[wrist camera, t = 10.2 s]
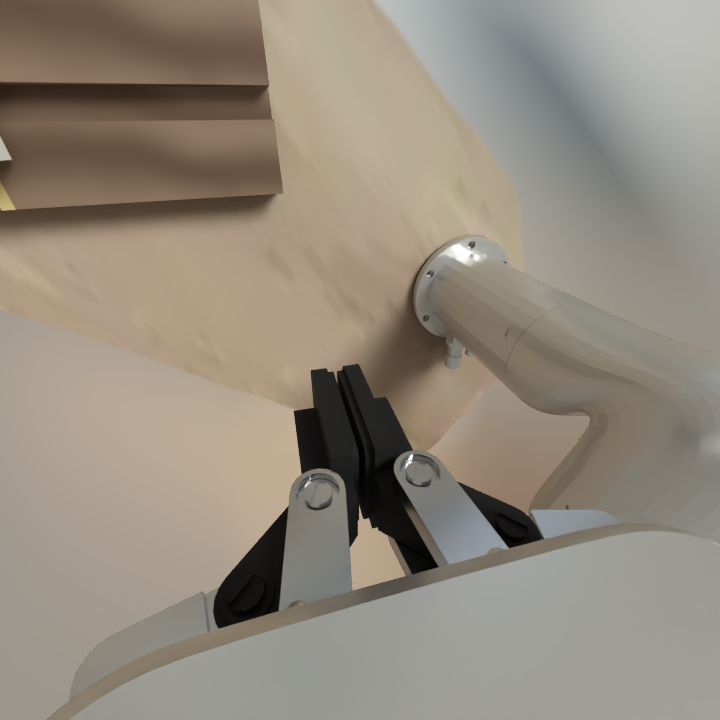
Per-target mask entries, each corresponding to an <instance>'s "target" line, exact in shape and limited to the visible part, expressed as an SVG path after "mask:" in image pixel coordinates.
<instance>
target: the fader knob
mask: <svg viewBox="0 0 720 720" xmlns="http://www.w3.org/2000/svg"><path fill="white" fill-rule="evenodd" d="M4 160H12V159H11V157H10V155H9V153H8V151H7V149H6V147H5V145H4V143H3V141H2V139H1V137H0V161H4Z"/></svg>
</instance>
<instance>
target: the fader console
mask: <svg viewBox="0 0 720 720" xmlns="http://www.w3.org/2000/svg"><path fill="white" fill-rule="evenodd" d="M268 86H269V80H268V73H267V65H266V57H265V50H264V42H263V35H262V27H261V19H260V12H259V4H258V0H0V137H1V139H2V141H3V143H4V145H5V147H6V149H7V151H8V153H9V155H10V157H11V159H12V160H4V161H0V211H1V210H2V211H4V210H18V209H34V208H51V207H68V206H84V205H101V204H117V203H134V202H151V201H167V200H184V199H201V198H217V197H234V196H250V195H267V194H283V188H282V180H281V172H280V165H279V157H278V149H277V142H276V134H275V126H274V119H272V116H271V108H270V101H269V93H268Z"/></svg>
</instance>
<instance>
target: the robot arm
mask: <svg viewBox="0 0 720 720" xmlns="http://www.w3.org/2000/svg"><path fill="white" fill-rule="evenodd" d="M428 271H429V272H428ZM427 272H428V273H427ZM413 307H414V311H415V314H416V316H417V319H418V321H419V322H420V323H421V324H422V325H423V327H425V328H426V329H427V330H428V331H429V332H431V333H432V334H434V335H437V336H440V337H445V338H446V341H445V344H446V345H447V346H448V348H447V352H446V358H445V366H446V367H448V368H450V369H457V368H458V367H459V366H460V360H461V355H462V354H461V351H462V348H464V347H465V348H466V350H465V354H466V355H467V356H470V357H473V356H474V357H475V358H477V359H478V360H479V361H480V362H481V363H482V364H483V365H484V366H485V367H486V368H487V369H488V370H489V371H490V372H492V373H493V374H494V375H495V376H496V377H497V378H498V379H499V380H500V381H501V382H502V383H503V384H504V385H505V386H507V387H508V388H509V389H510V390H511V391H512V392H513V393H514V394H515V395H516V396H517V397H518V398H519V399H520V400H521V401H523V402H524V403H525V404H527V405H528V406H530V407H532V408H534V409H536V410H538V411H541V412H544V413H548V414H552V415H561V416H589V417H590V423H589V425H588V427H587V429H586V430H585V432H584V433H583V434H582V436H581V437H580V438H579V440H578V442H577V444H576V445H575V446H574V447H573V448H572V450H571V451H570V452H569V453H568V454H567V456H566V457H565V458H564V459H563V461H562V462H561V463H560V464H559V466H558V467H557V468H556V469H555V470H554V471H553V473H552V474H551V475H550V476H549V477H548V479H547V480H546V481H545V483H544V484H543V485H542V486H541V488H540V490H539V491H538V492H537V493H536V495H535V496H534V498H533V500H532V502H531V505H530V507H529V512H528V513H524V512H522V511H521V510H519V509H517V508H515V507H513V506H511V505H509V504H507V503H504V502H502V501H500V500H498V499H495V498H493V497H491V496H489V495H486V494H484V493H482V492H479V491H477V490H475V489H473V488H471V487H468V486H466V485H464V484H462V483H459V482H457V481H456V480H455V479H454V477H453V476H452V475H451V473H450V472H449V471H448V470H447V468H446V467H445V466H444V465H443V463H442V462H441V461H440V460H439V459H438V458H437V457H436V456H434V455H432V454H430V453H428V452H425V451H419V450H412V448H411V446H410V444H409V442H408V440H407V438H406V436H405V434H404V432H403V430H402V427H401V425H400V423H399V421H398V419H397V417H396V415H395V413H394V411H393V409H392V407H391V405H390V403H389V401H388V400H387V398H386V397H381V398H375V399H374V397H373V395H372V393H371V390H370V388H369V386H368V384H367V382H366V379H365V377H364V375H363V373H362V370H361V368H360V366H359V364H356V365H348V366H343V368H342V370H341V371H337V380H338V385H337V382H336V379H335V375H334V372H328V371H327V369H326V368H325V369H317V370H311V380H312V392H313V403H314V408H310V409H303V410H297V411H294V416H295V424H296V432H297V440H298V448H299V456H300V464H301V472H302V475H300V476H299V477H298V478H297V479H296V480H295V482H294V483H293V485H292V487H291V491H290V497H289V506H288V507H287V508H286V509H285V511H284V512H283V513H282V514H281V515H280V516H279V518H278V519H277V520H276V521H275V522H274V523H273V524H272V526H271V527H270V528H269V529H268V530H267V531H266V533H265V534H264V535H263V536H262V537H261V538H260V539H259V540H258V542H257V543H256V544H255V545H254V546H253V547H252V549H251V550H250V551H249V552H248V553H247V554H246V555H245V557H244V558H243V559H242V560H241V561H240V562H239V563H238V565H237V566H236V567H235V568H234V569H233V570H232V571H231V573H230V574H229V575H228V576H227V577H226V578H225V580H224V581H223V583H222V584H221V586H220V587H219V588H217V589H216V590H213V591H211V592H209V593H207V594H205V595H204V593H203V592H200V593H198V594H196V595H194V596H192V597H190V598H188V599H186V600H184V601H182V602H179V603H177V604H175V605H173V606H171V607H169V608H167V609H165V610H163V611H161V612H159V613H157V614H155V615H153V616H151V617H149V618H146V619H144V620H143V621H140V622H138V623H136V624H134V625H132V626H130V627H128V628H126V629H124V630H122V631H120V632H118V633H115V634H113V635H111V636H110V637H108V638H107V639H105V640H104V641H102V642H101V643H99V644H98V645H97V646H96V647H95V648H94V649H93V650H92V651H91V652H90V653H89V654H88V655H87V656H86V657H85V659H84V661H83V662H82V664H81V665H80V667H79V669H78V670H77V672H76V674H75V677H74V681H73V684H72V687H71V691H70V698H69V701H68V702H67V703H66V704H65V705H63V706H62V707H60V708H59V709H58V710H57V711H56V712H54V713H53V714H52V715H51V716H50V717H49V718H47V719H46V720H720V354H719V353H715V352H712V351H709V350H705V349H702V348H699V347H696V346H693V345H690V344H687V343H684V342H681V341H678V340H676V339H673V338H670V337H667V336H664V335H661V334H659V333H656V332H653V331H651V330H648V329H646V328H644V327H641V326H639V325H636V324H634V323H632V322H629V321H627V320H624V319H622V318H620V317H618V316H616V315H613V314H611V313H609V312H607V311H605V310H603V309H600V308H598V307H596V306H594V305H592V304H590V303H588V302H586V301H584V300H581V299H579V298H577V297H575V296H573V295H571V294H569V293H567V292H564V291H562V290H560V289H558V288H556V287H554V286H552V285H550V284H548V283H546V282H543V281H541V280H539V279H537V278H535V277H533V276H531V275H529V274H527V273H525V272H522V271H520V270H518V269H516V268H514V267H512V266H510V265H509V260H508V257H507V255H506V253H505V251H504V250H503V249H502V248H501V247H500V246H499V245H498V244H497V243H495V242H494V241H492V240H490V239H487V238H485V237H480V236H465V237H461V238H457V239H455V240H453V241H450V242H448V243H447V244H445V245H444V246H442V247H441V248H439V249H438V250H437V251H436V252H435V253H434V254H433V255H432V256H431V257H430V258H429V259H428V261H427V262H426V263H425V265H424V266H423V268H422V269H421V271H420V273H419V275H418V277H417V280H416V283H415V286H414V292H413ZM359 506H360V509H361V513H362V516H363V519H367V518H369V519H370V523H371V526H372V528H376V527H378V530H379V531H381V532H383V533H385V534H386V535H388V538H389V542H390V544H391V547H392V549H393V551H394V553H395V555H396V557H397V559H398V561H399V563H400V565H401V567H402V569H403V571H404V573H405V575H406V576H405V577H401V578H398V579H394V580H390V581H387V582H383V583H379V584H376V585H372V586H368V587H365V588H361V589H358V590H354V591H352V579H351V562H350V549H349V548H350V547H351V545H352V543H353V542H354V540H355V539H356V537H357V535H358V523H357V522H358V520H359Z"/></svg>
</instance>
